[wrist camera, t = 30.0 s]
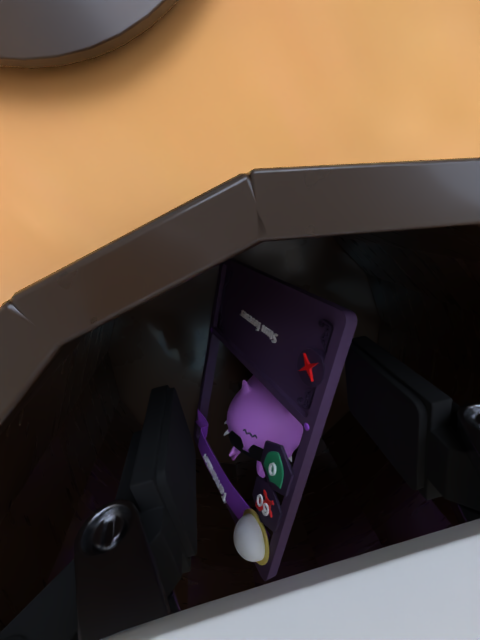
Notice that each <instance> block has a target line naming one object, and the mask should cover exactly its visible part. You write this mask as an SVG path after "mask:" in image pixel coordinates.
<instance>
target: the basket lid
mask: <svg viewBox="0 0 480 640" xmlns="http://www.w3.org/2000/svg"><path fill="white" fill-rule="evenodd" d="M177 1H178V0H0V66H6V67H22V68H41V67H52V66H63V65H69V64H73V63H76V62H80V61H84V60H88V59H92V58H96V57H98V56H101V55H103V54H105V53H107V52H109V51H112V50H114V49H116V48H118V47H121V46H123V45H125V44H126V43H128V42H129V41H131V40H132V39H134V38H135V37H137V36H138V35H140V34H141V33H143V32H144V31H146V30H147V29H149V28H150V27H152V26H153V25H154V24H155V23H156V22H157V21H158V20H159V19H160V18H161V17H162V16H163V15H164V14H165V13H166V12H168V11H169V10H170V9H171V8H172V7H173V6H174V5H175V4H176V3H177Z"/></svg>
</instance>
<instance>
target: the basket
mask: <svg viewBox="0 0 480 640" xmlns="http://www.w3.org/2000/svg"><path fill="white" fill-rule="evenodd" d="M231 258H233V259H235V260H237V261H240V262H242V263H244V264H247V265H249V266H251V267H253V268H256V269H258V270H260V271H263V272H265V273H267V274H269V275H272V276H274V277H276V278H279V279H281V280H283V281H285V282H288V283H290V284H292V285H294V286H297V287H299V288H301V289H304V290H306V291H308V292H310V293H313V294H315V295H317V296H320V297H322V298H324V299H326V300H329V301H331V302H333V303H335V304H338V305H340V306H342V307H345V308H347V309H349V310H351V311H353V312H354V313H355V314H356V316H357V326H356V329H355V332H354V335H353V338H356V337H360V336H366V337H368V338H369V339H371V340H372V341H373V342H375V343H376V344H378V345H379V346H380V347H382V348H383V349H384V350H386V351H387V352H389V353H390V354H391V355H393V356H394V357H396V358H397V359H398V360H400V361H401V362H402V363H404V364H405V365H407V366H408V367H409V368H411V369H412V370H414V371H415V372H416V373H418V374H419V375H420V376H422V377H423V378H425V379H426V380H427V381H429V382H430V383H432V384H433V385H434V386H436V387H437V388H438V389H440V390H441V391H443V392H444V393H445V394H447V395H448V396H450V397H451V398H452V401H454V402H455V403H456V404H458V405H459V406H462V405H464V404H467V403H470V402H480V158H460V159H440V160H420V161H399V162H379V163H359V164H339V165H319V166H299V167H279V168H259V169H253V170H251V171H250V172H248V173H244V174H239V175H237V176H235V177H233V178H231V179H229V180H228V181H226V182H224V183H222V184H220V185H218V186H216V187H214V188H212V189H211V190H209V191H207V192H205V193H203V194H201V195H199V196H197V197H195V198H194V199H192V200H190V201H188V202H186V203H184V204H182V205H180V206H178V207H177V208H175V209H173V210H171V211H169V212H167V213H165V214H163V215H161V216H160V217H158V218H156V219H154V220H152V221H150V222H148V223H146V224H144V225H143V226H141V227H139V228H137V229H135V230H133V231H131V232H129V233H127V234H126V235H124V236H122V237H120V238H118V239H116V240H114V241H112V242H110V243H109V244H107V245H105V246H103V247H101V248H99V249H97V250H95V251H93V252H92V253H90V254H88V255H86V256H84V257H82V258H80V259H78V260H76V261H75V262H73V263H71V264H69V265H67V266H65V267H63V268H61V269H59V270H58V271H56V272H54V273H52V274H50V275H48V276H46V277H44V278H42V279H41V280H39V281H37V282H35V283H33V284H31V285H29V286H27V287H25V288H24V289H22V290H20V291H18V292H16V293H15V294H14V295H13V297H12V298H11V300H9V301H7V302H5V303H3V304H2V306H1V307H0V632H1V631H2V630H3V629H4V628H5V627H6V626H7V625H8V624H9V623H10V622H11V621H12V620H13V619H14V618H15V617H16V616H17V615H18V614H19V613H20V612H21V611H22V610H23V609H24V608H25V607H26V606H27V605H28V604H29V603H30V602H31V601H32V600H33V599H34V598H35V597H36V596H37V595H38V594H39V593H40V592H41V591H42V590H43V589H44V588H45V587H46V586H47V585H48V584H49V583H50V582H51V581H52V580H53V579H54V578H55V577H56V576H57V575H58V574H59V573H60V572H61V571H62V570H63V569H64V568H65V567H66V566H67V565H68V564H69V563H70V562H71V561H72V560H73V559H74V543H75V538H76V536H77V534H78V531H79V529H80V528H81V526H82V525H83V523H84V522H85V521H86V519H87V518H88V517H89V516H90V515H91V514H92V513H93V512H94V511H96V510H97V509H99V508H100V507H101V506H103V505H105V504H107V503H109V502H111V501H115V499H116V495H117V491H118V487H119V483H120V480H121V476H122V472H123V468H124V465H125V461H126V457H127V453H128V449H129V446H130V442H131V438H132V435H133V433H134V432H137V431H141V430H142V429H143V424H144V420H145V415H146V411H147V407H148V402H149V398H150V393H151V390H152V389H153V388H157V387H161V386H165V385H169V387H170V388H173V387H174V388H175V389H176V391H177V395H178V398H179V401H180V404H181V407H182V410H183V413H184V416H185V419H186V422H187V425H188V428H189V431H190V434H191V437H192V440H193V443H194V447H195V453H196V502H197V554H196V555H194V556H191V571H189V572H186V573H183V574H182V578H181V579H180V581H179V582H178V583H177V585H176V586H175V588H174V589H175V592H176V595H177V598H178V601H179V604H180V607H181V610H185V609H188V608H191V607H194V606H197V605H201V604H204V603H207V602H210V601H213V600H217V599H220V598H223V597H226V596H229V595H232V594H236V593H239V592H242V591H245V590H248V589H252V588H255V587H258V586H261V585H264V584H268V583H271V582H274V581H277V580H280V579H283V578H287V577H290V576H293V575H296V574H299V573H303V572H306V571H309V570H312V569H316V568H319V567H322V566H325V565H329V564H332V563H335V562H338V561H342V560H345V559H348V558H351V557H355V556H358V555H361V554H364V553H368V552H371V551H374V550H377V549H381V548H384V547H387V546H390V545H394V544H397V543H400V542H404V541H407V540H410V539H413V538H417V537H420V536H423V535H427V534H430V533H433V532H437V531H440V530H443V529H447V528H450V527H453V526H457V525H459V523H458V521H457V518H456V516H455V513H454V511H453V509H452V506H451V504H450V500H447V499H445V498H444V497H443V496H441V497H438V498H434V499H431V500H428V501H426V499H425V498H424V497H423V496H422V495H421V493H420V492H419V491H418V490H413V489H411V488H410V487H409V485H408V484H407V483H406V482H405V480H404V479H403V478H402V476H401V475H400V474H399V473H398V471H397V470H396V469H395V468H394V466H393V465H392V464H391V463H390V461H389V460H388V459H387V457H386V456H385V455H384V454H383V452H382V451H381V450H380V449H379V447H378V446H377V445H376V443H375V442H374V441H373V440H372V438H371V437H370V436H369V435H368V433H367V432H366V431H365V430H364V428H363V427H362V426H361V424H360V423H359V422H358V421H357V419H356V418H355V417H354V416H353V414H352V413H351V411H350V409H349V406H348V399H347V385H346V371H345V363H344V366H343V369H342V373H341V376H340V379H339V382H338V385H337V388H336V391H335V394H334V397H333V400H332V404H331V407H330V410H329V413H328V416H327V419H326V422H325V425H324V428H323V432H322V435H321V438H320V441H319V444H318V447H317V450H316V453H315V456H314V460H313V463H312V466H311V469H310V472H309V475H308V478H307V481H306V484H305V487H304V491H303V494H302V497H301V500H300V503H299V506H298V509H297V512H296V515H295V519H294V522H293V525H292V528H291V531H290V534H289V537H288V540H287V543H286V547H285V550H284V553H283V556H282V559H281V562H280V565H279V568H278V571H277V574H276V576H274V577H272V578H270V579H269V580H267V581H264V580H263V579H262V577H261V576H260V574H259V571H258V569H257V567H256V565H255V563H254V562H251V561H247V560H245V559H244V558H242V557H241V556H240V555H239V553H238V552H237V550H236V548H235V545H234V539H233V535H234V529H235V526H236V524H235V522H234V520H233V518H232V516H231V514H230V512H229V510H228V508H227V506H226V504H224V502H223V500H222V498H221V494H220V491H219V489H218V487H217V485H216V483H215V481H214V480H213V477H212V476H211V474H210V472H209V470H208V468H207V466H206V464H205V462H204V460H203V458H202V456H201V453H200V451H199V448H198V446H197V444H196V442H195V440H194V430H195V423H196V422H195V421H196V417H197V410H198V404H199V397H200V391H201V384H202V378H203V371H204V365H205V358H206V352H207V345H208V339H209V332H210V325H211V319H212V312H213V306H214V299H215V293H216V286H217V280H218V273H219V267H220V264H222V263H224V262H225V261H227V260H229V259H231ZM252 376H253V374H252V373H251V372H250V371H249V370H248V369H247V368H246V367H245V366H244V365H243V364H242V363H241V362H240V361H239V360H238V359H237V357H236V356H235V355H234V354H233V353H232V352H231V351H230V350H229V349H228V348H227V347H226V346H225V345H224V344H223V343H222V342H221V341H220V343H219V349H218V355H217V361H216V367H215V373H214V379H213V385H212V391H211V397H210V403H209V409H208V415H207V422H208V432H207V437H206V439H207V441H208V443H209V444H210V446H211V448H212V450H213V452H214V454H215V456H216V457H217V459H218V461H219V463H220V465H221V467H222V469H223V470H224V472H225V474H226V476H227V478H228V479H229V481H230V482H231V484H232V485H233V486H234V488H235V489H236V490H237V492H238V493H239V494H240V495H241V497H242V498H243V499H244V500H245V502H246V503H247V504H248V506H249V507H250V508H251V509H253V510H254V511H255V512H256V513H257V509H256V506H255V503H254V499H253V496H252V493H253V489H254V485H255V481H256V477H257V476H259V474H258V473H257V468H256V466H257V460H255V459H253V458H251V457H249V456H247V455H245V454H244V453H242V452H241V453H240V454H239V455H238V456H237V457H236V458H235V460H232V459H231V456H230V457H229V453H230V451H231V449H232V447H233V445H232V444H231V443H230V439H229V436H228V434H227V435H225V436H224V433H225V432H226V431H227V430H228V425H227V424H224V423H225V421H226V420H227V412H228V408H229V406H230V403H231V401H232V400H233V398H234V397H235V395H236V394H237V393H238V392H239V390H240V389H241V388H242V382H243V380H245V381H246V382H247V381H248V380H249V379H250V378H251V377H252ZM298 447H299V446H298ZM298 447H297V448H296V449H295V450H294V451H293V453H292V462H291V461H290V460H289V462H290V464H291V467H292V468H293V464H294V461H295V457H296V454H297V451H298ZM264 479H266V476H265V477H264ZM266 480H267V479H266ZM276 494H277V497H278V500H279V502H280V505H282V501H283V498H284V496H283V495H281V494H280V493H278V492H276ZM257 514H258V513H257ZM263 525H264V524H263ZM264 527H265V528H266V530H267V531H268V533H269V534H270V537H269V541H268V542H269V545H270V542H271V538H272V535H273V531H272V530H270V529H269V528H268V527H267V526H265V525H264Z"/></svg>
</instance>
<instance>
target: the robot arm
mask: <svg viewBox="0 0 480 640" xmlns="http://www.w3.org/2000/svg"><path fill="white" fill-rule="evenodd" d="M345 371H346V385H347V399H348V406H349V409H350V411H351V413H352V414H353V416H354V417H355V418H356V419H357V421H358V422H359V423H360V424H361V426H362V427H363V428H364V430H365V431H366V432H367V433H368V435H369V436H370V437H371V438H372V440H373V441H374V442H375V443H376V445H377V446H378V447H379V449H380V450H381V451H382V452H383V454H384V455H385V456H386V457H387V459H388V460H389V461H390V463H391V464H392V465H393V466H394V468H395V469H396V470H397V471H398V473H399V474H400V475H401V476H402V478H403V479H404V480H405V482H406V483H407V484H408V485H409V487H410V488H411V489H413V490H418V491H419V492H420V493H421V495H422V496H423V497H424V498H425V499H426V501H428V500H431V499H434V498H438V497H441V496H443V497H444V498H445V499H447V500H450V504H451V506H452V509H453V511H454V513H455V516H456V518H457V521H458V523H459V525H457V526H453V527H450V528H447V529H443V530H440V531H437V532H433V533H430V534H427V535H423V536H420V537H417V538H413V539H410V540H407V541H404V542H400V543H397V544H394V545H390V546H387V547H384V548H381V549H377V550H374V551H371V552H368V553H364V554H361V555H358V556H355V557H351V558H348V559H345V560H342V561H338V562H335V563H332V564H329V565H325V566H322V567H319V568H316V569H312V570H309V571H306V572H303V573H299V574H296V575H293V576H290V577H287V578H283V579H280V580H277V581H274V582H271V583H268V584H264V585H261V586H258V587H255V588H252V589H248V590H245V591H242V592H239V593H236V594H232V595H229V596H226V597H223V598H220V599H217V600H213V601H210V602H207V603H204V604H201V605H197V606H194V607H191V608H188V609H185V610H181V607H180V604H179V601H178V598H177V595H176V592H175V589H174V588H175V586H176V585H177V583H178V582H179V581H180V579H181V578H182V574H183V573H186V572H189V571H191V556H194V555H196V554H197V502H196V453H195V447H194V443H193V440H192V437H191V434H190V431H189V428H188V425H187V422H186V419H185V416H184V413H183V410H182V407H181V404H180V401H179V398H178V395H177V391H176V389H175V388H174V387H173V388H170V387H169V385H165V386H161V387H157V388H153V389H152V390H151V393H150V398H149V402H148V407H147V411H146V415H145V420H144V424H143V429H142V430H141V431H137V432H134V433H133V435H132V438H131V442H130V446H129V449H128V453H127V457H126V461H125V465H124V468H123V472H122V476H121V480H120V483H119V487H118V491H117V495H116V499H115V501H111V502H109V503H107V504H105V505H103V506H101V507H100V508H99V509H97V510H96V511H94V512H93V513H92V514H91V515H90V516H89V517H88V518H87V519H86V521H85V522H84V523H83V525H82V526H81V528H80V529H79V531H78V534H77V536H76V538H75V543H74V559H73V560H72V561H71V562H70V563H69V564H68V565H67V566H66V567H65V568H64V569H63V570H62V571H61V572H60V573H59V574H58V575H57V576H56V577H55V578H54V579H53V580H52V581H51V582H50V583H49V584H48V585H47V586H46V587H45V588H44V589H43V590H42V591H41V592H40V593H39V594H38V595H37V596H36V597H35V598H34V599H33V600H32V601H31V602H30V603H29V604H28V605H27V606H26V607H25V608H24V609H23V610H22V611H21V612H20V613H19V614H18V615H17V616H16V617H15V618H14V619H13V620H12V621H11V622H10V623H9V624H8V625H7V626H6V627H5V628H4V629H3V630H2V631H1V632H0V640H480V402H470V403H467V404H464V405H462V406H459V405H458V404H456V403H455V402H454V401H452V398H451V397H450V396H448V395H447V394H445V393H444V392H443V391H441V390H440V389H438V388H437V387H436V386H434V385H433V384H432V383H430V382H429V381H427V380H426V379H425V378H423V377H422V376H420V375H419V374H418V373H416V372H415V371H414V370H412V369H411V368H409V367H408V366H407V365H405V364H404V363H402V362H401V361H400V360H398V359H397V358H396V357H394V356H393V355H391V354H390V353H389V352H387V351H386V350H384V349H383V348H382V347H380V346H379V345H378V344H376V343H375V342H373V341H372V340H371V339H369V338H368V337H366V336H360V337H356V338H352V341H351V345H350V348H349V351H348V354H347V357H346V360H345Z"/></svg>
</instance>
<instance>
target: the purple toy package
mask: <svg viewBox="0 0 480 640" xmlns="http://www.w3.org/2000/svg"><path fill="white" fill-rule="evenodd" d="M356 326H357V316H356V314H355V313H354V312H353V311H351V310H349V309H347V308H345V307H342V306H340V305H338V304H335V303H333V302H331V301H329V300H326V299H324V298H322V297H320V296H317V295H315V294H313V293H310V292H308V291H306V290H304V289H301V288H299V287H297V286H294V285H292V284H290V283H288V282H285V281H283V280H281V279H279V278H276V277H274V276H272V275H269V274H267V273H265V272H263V271H260V270H258V269H256V268H253V267H251V266H249V265H247V264H244V263H242V262H240V261H237V260H235V259H233V258H231V259H229V260H227V261H225V262H224V263H222V264H220V267H219V273H218V280H217V286H216V293H215V299H214V306H213V312H212V319H211V325H210V332H209V339H208V345H207V352H206V358H205V365H204V371H203V378H202V384H201V391H200V397H199V404H198V410H197V417H196V421H195V422H196V423H195V430H194V440H195V442H196V444H197V446H198V448H199V451H200V453H201V456H202V458H203V460H204V462H205V464H206V466H207V468H208V470H209V472H210V474H211V476H212V477H213V480H214V481H215V483H216V485H217V487H218V489H219V491H220V494H221V498H222V500H223V502H224V504H226V506H227V508H228V510H229V512H230V514H231V516H232V518H233V520H234V522H235V524H236V526H235V529H234V535H233V539H234V545H235V548H236V550H237V552H238V553H239V555H240V556H241V557H242V558H244V559H245V560H247V561H251V562H254V563H255V565H256V567H257V569H258V571H259V574H260V576H261V577H262V579H263V580H264V581H267V580H269V579H270V578H272V577H274V576H276V574H277V571H278V568H279V565H280V562H281V559H282V556H283V553H284V550H285V547H286V543H287V540H288V537H289V534H290V531H291V528H292V525H293V522H294V519H295V515H296V512H297V509H298V506H299V503H300V500H301V497H302V494H303V491H304V487H305V484H306V481H307V478H308V475H309V472H310V469H311V466H312V463H313V460H314V456H315V453H316V450H317V447H318V444H319V441H320V438H321V435H322V432H323V428H324V425H325V422H326V419H327V416H328V413H329V410H330V407H331V404H332V400H333V397H334V394H335V391H336V388H337V385H338V382H339V379H340V376H341V373H342V369H343V366H344V363H345V360H346V357H347V354H348V351H349V348H350V345H351V341H352V338H353V335H354V332H355V329H356ZM220 341H221V342H222V343H223V344H224V345H225V346H226V347H227V348H228V349H229V350H230V351H231V352H232V353H233V354H234V355H235V356H236V357H237V359H238V360H239V361H240V362H241V363H242V364H243V365H244V366H245V367H246V368H247V369H248V370H249V371H250V372H251V373H252V374H253V376H252V377H251V378H250V379H249V380H248V381H247V382H246V381H245V380H243V382H242V388H241V389H240V390H239V392H238V393H237V394H236V395H235V397H234V398H233V400H232V401H231V403H230V406H229V408H228V412H227V420H226V421H225V423H224V424H227V425H228V430H227V431H226V432H225V433H224V436H225V435H227V434H228V436H229V439H230V443H231V444H232V445H233V447H232V449H231V451H230V453H229V457H230V456H231V459H232V460H235V458H236V457H237V456H238V455H239V454H240V453H241V452H242V453H244V454H245V455H247V456H249V457H251V458H253V459H255V460H257V466H256V468H257V473H258V474H259V476H257V477H256V481H255V485H254V489H253V493H252V496H253V499H254V503H255V506H256V509H257V513H258V514H257V513H256V512H255V511H254V510H253V509H251V508H250V507H249V506H248V504H247V503H246V502H245V500H244V499H243V498H242V497H241V495H240V494H239V493H238V492H237V490H236V489H235V488H234V486H233V485H232V484H231V482H230V481H229V479H228V478H227V476H226V474H225V472H224V470H223V469H222V467H221V465H220V463H219V461H218V459H217V457H216V456H215V454H214V452H213V450H212V448H211V446H210V444H209V443H208V441H207V439H206V437H207V432H208V422H207V415H208V409H209V403H210V397H211V391H212V385H213V379H214V373H215V367H216V361H217V355H218V349H219V343H220ZM298 446H299V447H298ZM297 447H298V451H297V454H296V457H295V461H294V464H293V468H292V467H291V464H290V462H289V460H290V461H291V462H292V453H293V451H294V450H295V449H296V448H297ZM265 476H266V479H267V480H266V479H264V477H265ZM276 492H278V493H280V494H281V495H283V496H284V498H283V501H282V505H280V502H279V500H278V497H277V494H276ZM263 524H264V525H265V526H267V527H268V528H269V529H270V530H272V531H273V535H272V538H271V542H270V545H269V542H268V541H269V537H270V534H269V533H268V531H267V530H266V528H265V527H264V525H263Z"/></svg>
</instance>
